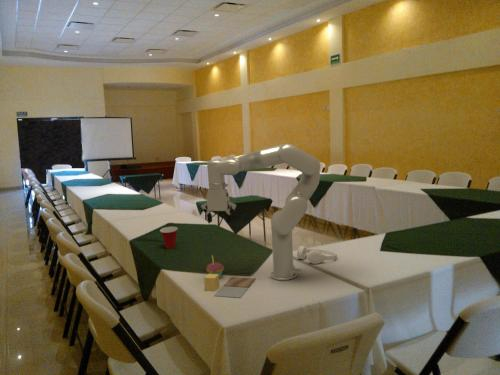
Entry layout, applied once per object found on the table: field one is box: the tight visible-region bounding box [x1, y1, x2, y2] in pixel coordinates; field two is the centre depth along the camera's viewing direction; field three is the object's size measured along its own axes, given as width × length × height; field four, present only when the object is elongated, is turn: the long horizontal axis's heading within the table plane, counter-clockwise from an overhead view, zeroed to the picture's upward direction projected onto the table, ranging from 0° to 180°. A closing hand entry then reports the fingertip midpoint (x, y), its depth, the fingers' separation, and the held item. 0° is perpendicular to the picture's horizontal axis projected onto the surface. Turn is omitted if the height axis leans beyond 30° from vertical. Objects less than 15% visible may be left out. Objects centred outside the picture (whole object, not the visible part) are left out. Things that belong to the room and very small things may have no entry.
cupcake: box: [205, 255, 225, 279], centre depth 202 cm, size 9×8×12 cm
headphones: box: [296, 245, 338, 265], centre depth 224 cm, size 7×18×20 cm
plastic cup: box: [159, 226, 179, 250], centre depth 258 cm, size 11×11×12 cm
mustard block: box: [203, 273, 220, 292], centre depth 188 cm, size 5×5×6 cm
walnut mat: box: [223, 276, 257, 289], centre depth 194 cm, size 12×11×1 cm
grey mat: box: [213, 285, 249, 299], centre depth 183 cm, size 12×11×1 cm
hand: (219, 222), depth 196 cm, fingers open, 9 cm apart
